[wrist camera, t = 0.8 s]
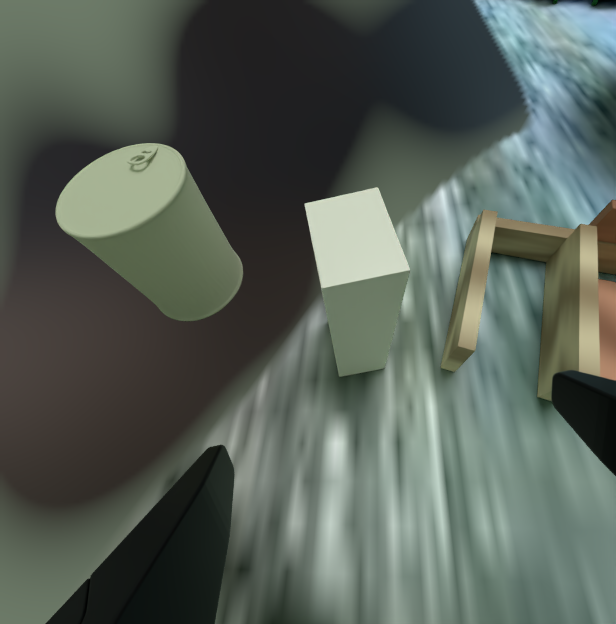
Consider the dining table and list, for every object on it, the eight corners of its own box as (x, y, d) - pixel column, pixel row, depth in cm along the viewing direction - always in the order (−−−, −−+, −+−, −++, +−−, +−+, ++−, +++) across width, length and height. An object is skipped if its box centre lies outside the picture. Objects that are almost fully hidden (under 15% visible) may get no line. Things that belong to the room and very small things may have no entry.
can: (258, 254, 31) (206, 141, 20) (216, 333, 27) (126, 245, 17) (185, 238, 33) (106, 131, 23) (138, 308, 30) (18, 219, 19)
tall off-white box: (384, 368, 23) (410, 269, 12) (339, 376, 24) (321, 288, 12) (369, 312, 26) (377, 187, 14) (327, 321, 26) (304, 203, 15)
